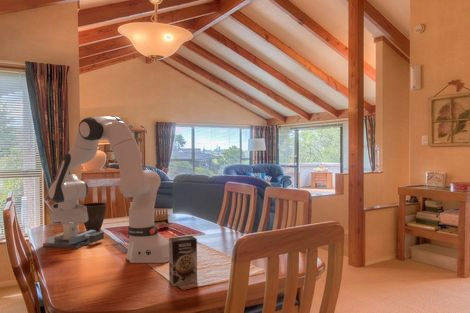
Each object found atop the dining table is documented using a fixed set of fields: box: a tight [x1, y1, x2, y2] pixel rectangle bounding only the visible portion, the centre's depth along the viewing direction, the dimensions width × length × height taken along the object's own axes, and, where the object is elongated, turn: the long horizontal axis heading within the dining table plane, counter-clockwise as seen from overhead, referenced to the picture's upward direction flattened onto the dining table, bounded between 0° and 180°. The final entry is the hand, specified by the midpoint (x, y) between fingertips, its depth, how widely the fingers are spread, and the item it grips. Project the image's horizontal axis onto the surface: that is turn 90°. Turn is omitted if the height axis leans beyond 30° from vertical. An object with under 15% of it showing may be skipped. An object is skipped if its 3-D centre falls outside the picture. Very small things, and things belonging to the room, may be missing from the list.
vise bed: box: [42, 229, 93, 250], centre depth 190 cm, size 20×20×4 cm
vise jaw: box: [69, 230, 105, 244], centre depth 188 cm, size 11×18×3 cm, turn 166°
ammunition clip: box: [154, 208, 169, 225], centre depth 221 cm, size 11×2×12 cm, turn 117°
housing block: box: [62, 222, 78, 240], centre depth 191 cm, size 4×6×8 cm, turn 166°
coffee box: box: [168, 235, 198, 287], centre depth 131 cm, size 9×6×16 cm
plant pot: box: [80, 202, 107, 233], centre depth 217 cm, size 15×15×16 cm
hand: (70, 230), depth 191 cm, fingers open, 4 cm apart
